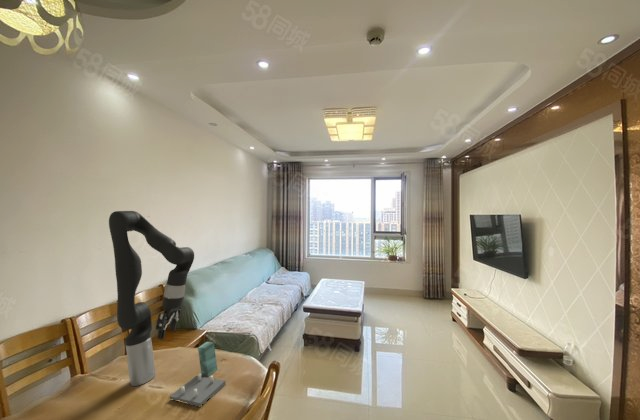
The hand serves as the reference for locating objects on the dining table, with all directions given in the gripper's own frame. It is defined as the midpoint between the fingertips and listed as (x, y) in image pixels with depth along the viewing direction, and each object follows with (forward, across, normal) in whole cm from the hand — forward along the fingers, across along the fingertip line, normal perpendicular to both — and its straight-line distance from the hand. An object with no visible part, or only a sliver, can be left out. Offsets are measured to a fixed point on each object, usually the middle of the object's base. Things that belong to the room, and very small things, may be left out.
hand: (166, 334), depth 105 cm
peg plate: (+17, +6, +19) cm, 26 cm away
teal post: (+16, -6, +18) cm, 25 cm away
